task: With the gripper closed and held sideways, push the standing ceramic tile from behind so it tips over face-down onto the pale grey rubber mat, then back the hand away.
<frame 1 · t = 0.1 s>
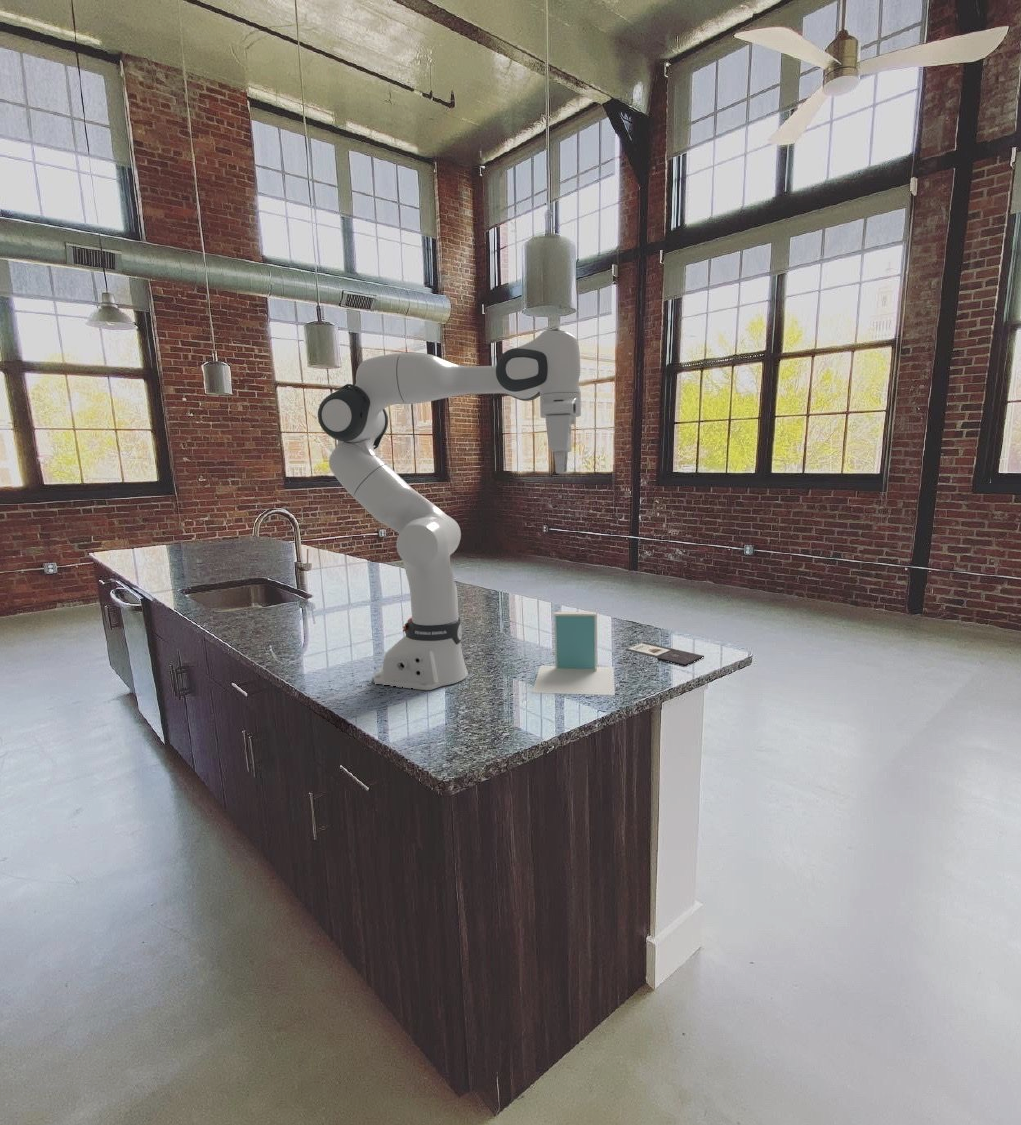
hand: (561, 472, 133), 48 cm above the table, tool pointing down, fingers open, 8 cm apart
tile: (576, 669, 146), resting on mat
mat: (574, 681, 139), on the table
chocolate bar: (663, 656, 156), on the table
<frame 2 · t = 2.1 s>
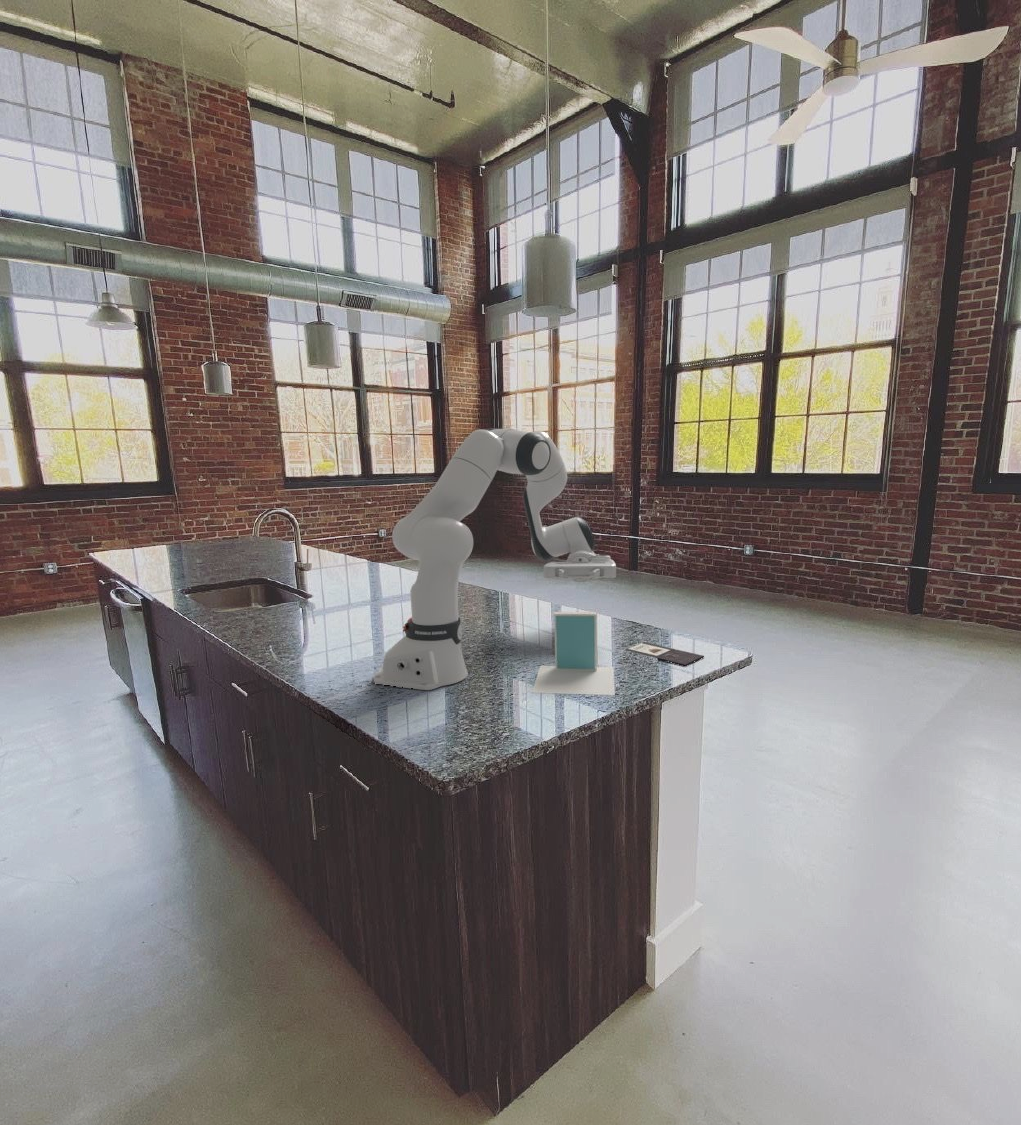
hand: (578, 575, 161), 20 cm above the table, tool horizontal, fingers open, 6 cm apart
nothing on the table moved.
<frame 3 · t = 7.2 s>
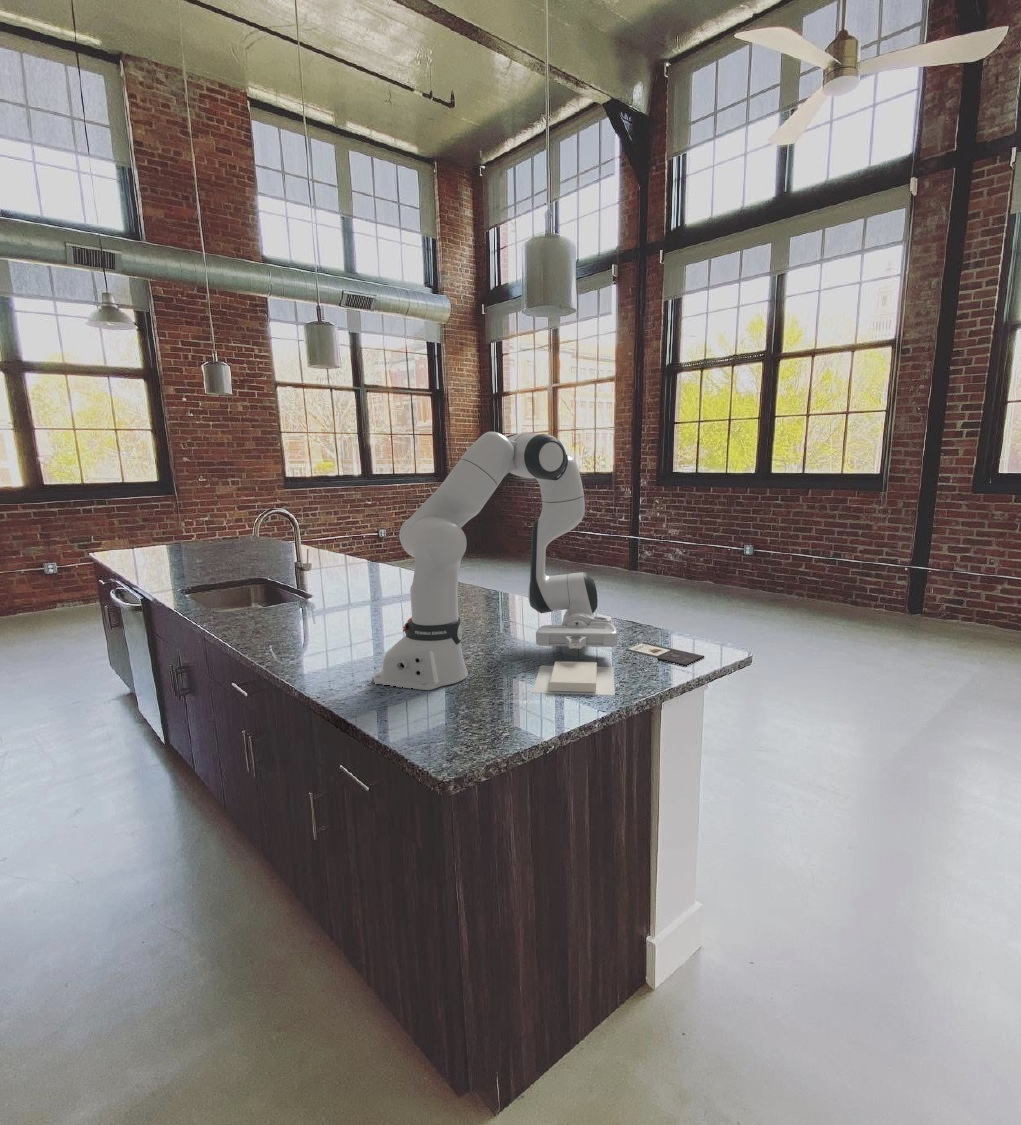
hand: (575, 645, 143), 7 cm above the table, tool horizontal, fingers closed
tile: (575, 665, 144), point 2 cm above the table, tilted 90°, touching mat
everything else where it was.
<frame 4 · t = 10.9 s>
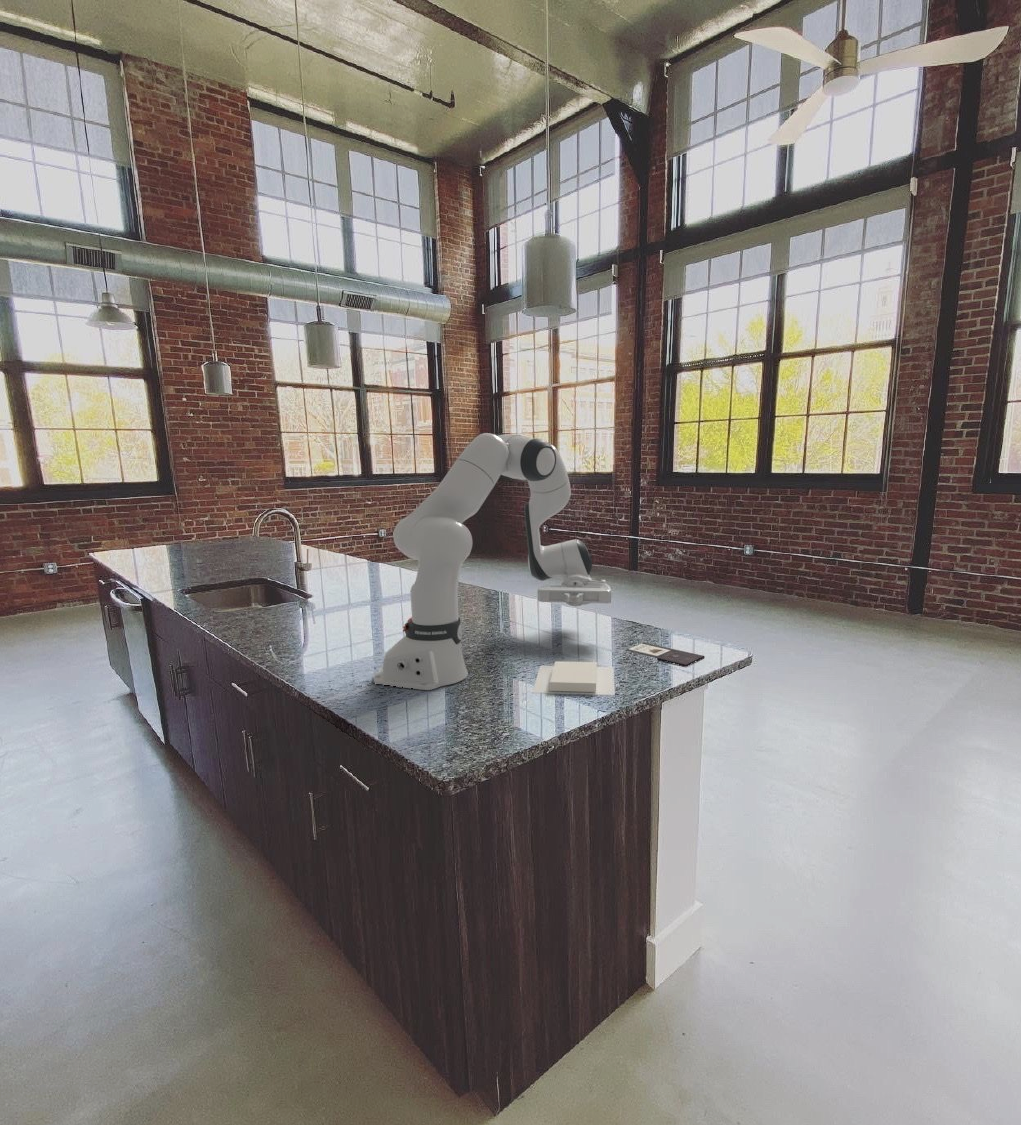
hand: (572, 600, 158), 14 cm above the table, tool horizontal, fingers closed
nothing on the table moved.
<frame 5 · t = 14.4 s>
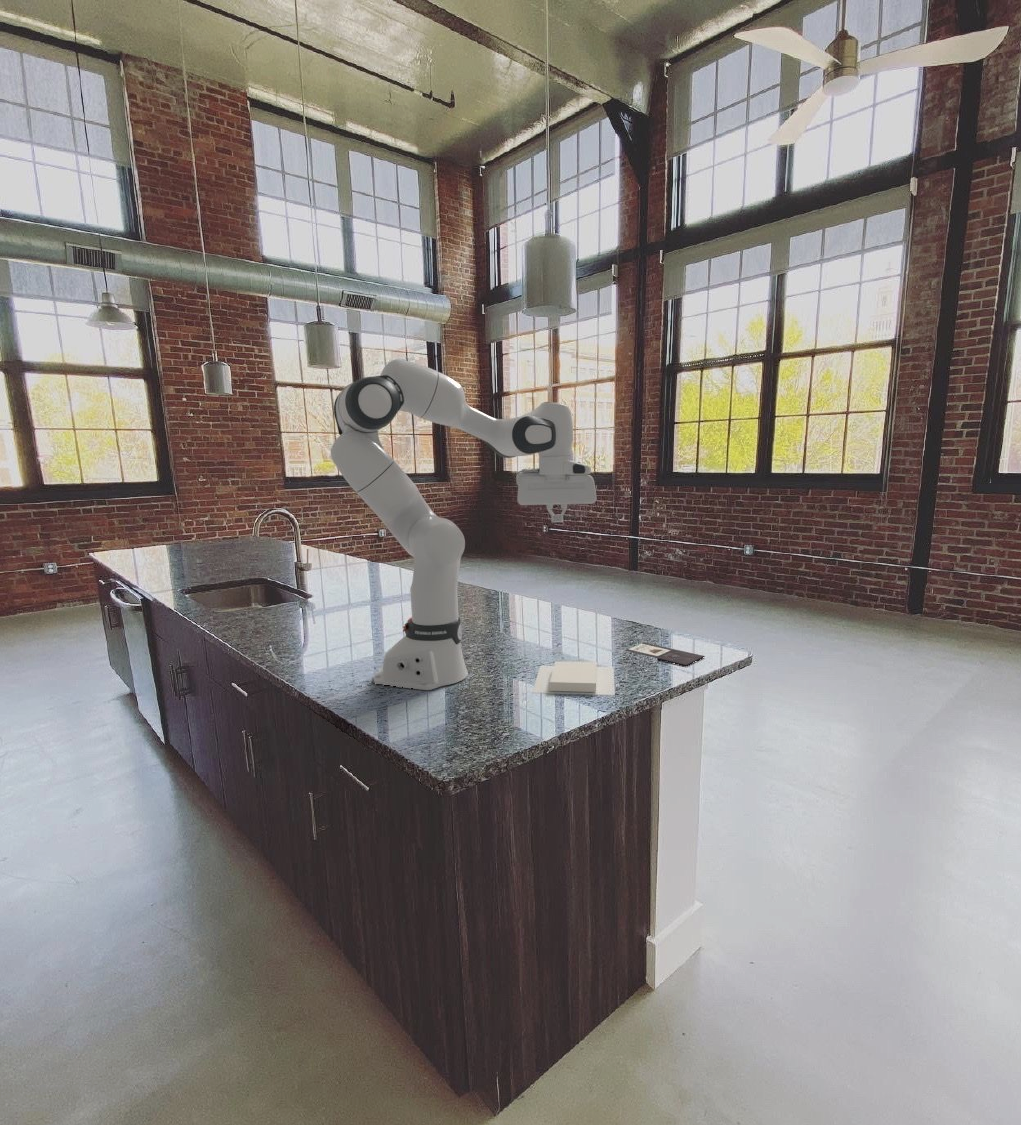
hand: (557, 522, 155), 35 cm above the table, tool pointing down, fingers closed
nothing on the table moved.
at the end: tile tilted 90°; tile inside the target area on the mat (3.1 cm from its centre), point 1.8 cm above the mat's base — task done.
